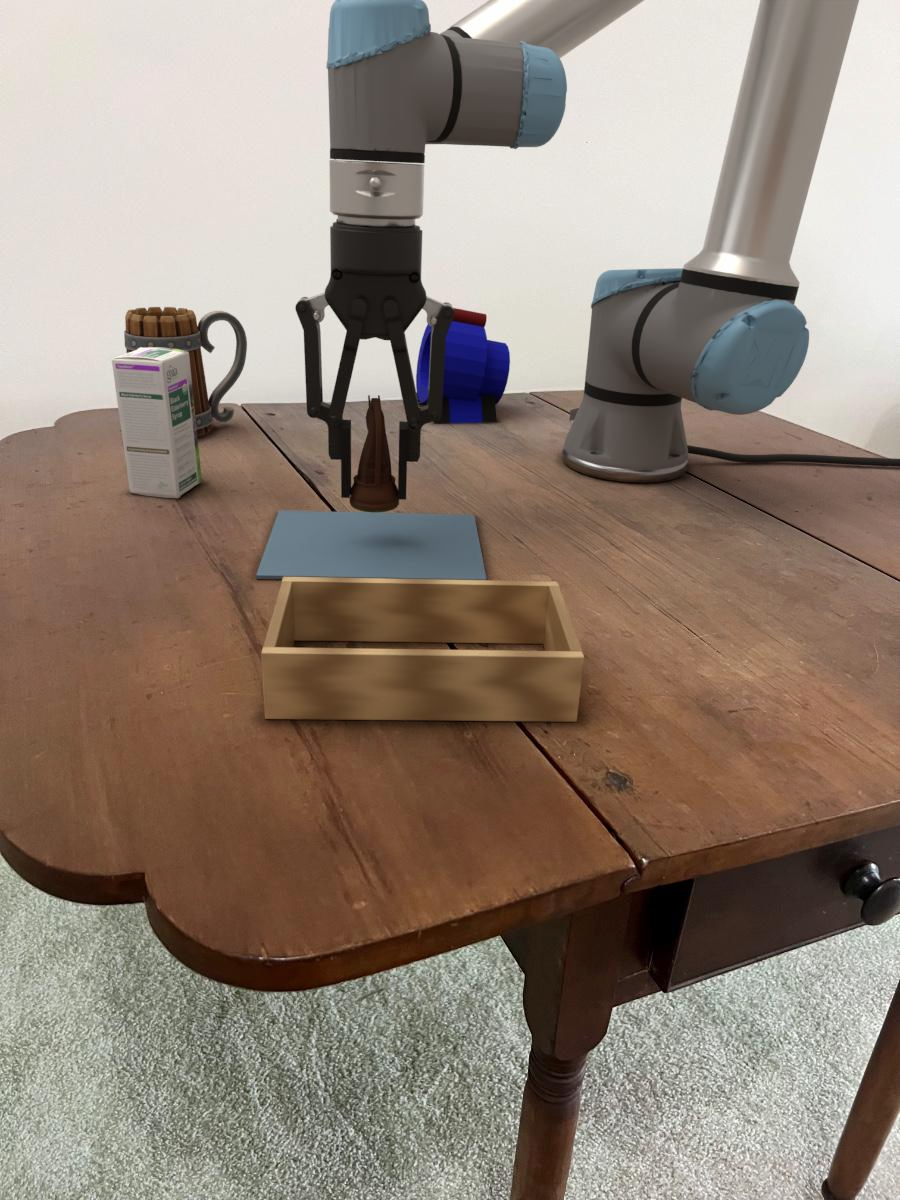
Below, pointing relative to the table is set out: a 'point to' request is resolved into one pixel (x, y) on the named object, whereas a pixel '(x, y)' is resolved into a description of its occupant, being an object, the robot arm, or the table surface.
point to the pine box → (421, 651)
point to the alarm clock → (466, 370)
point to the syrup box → (157, 421)
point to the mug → (185, 335)
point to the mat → (373, 546)
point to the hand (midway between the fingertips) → (374, 493)
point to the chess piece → (374, 467)
